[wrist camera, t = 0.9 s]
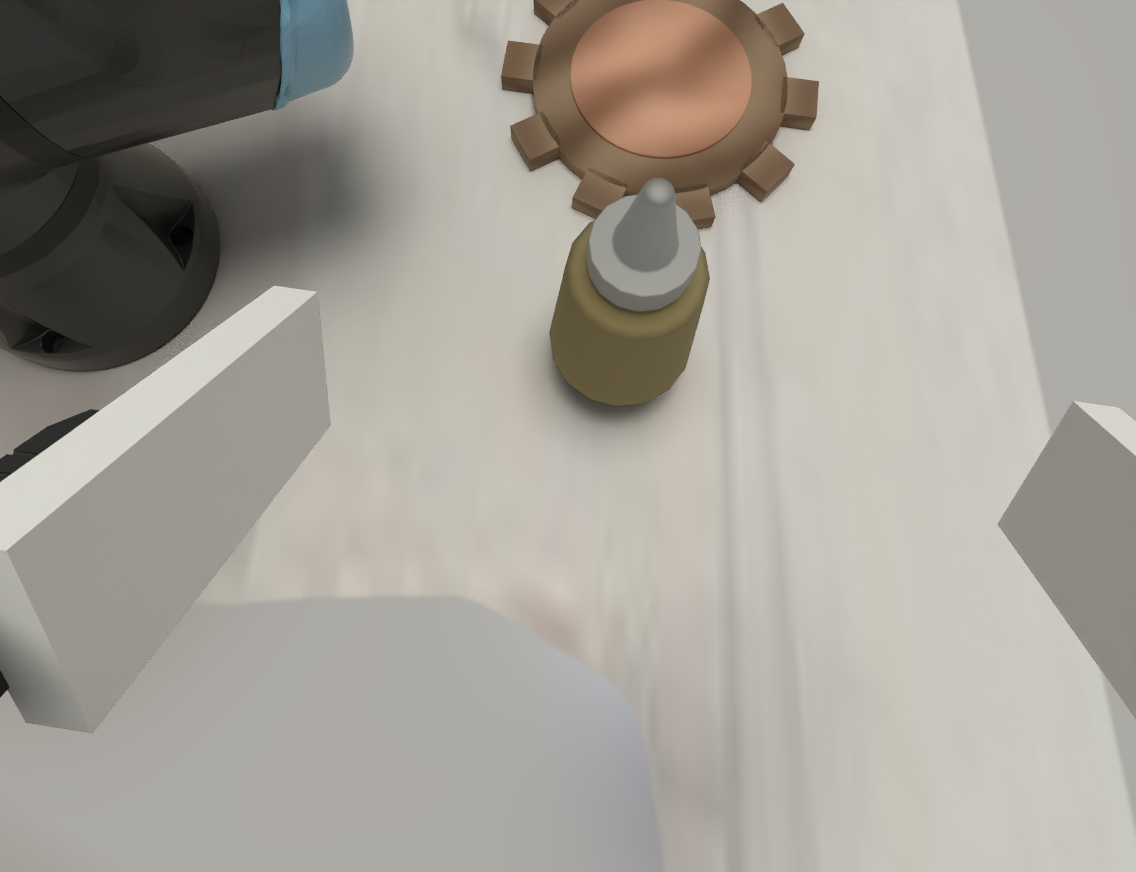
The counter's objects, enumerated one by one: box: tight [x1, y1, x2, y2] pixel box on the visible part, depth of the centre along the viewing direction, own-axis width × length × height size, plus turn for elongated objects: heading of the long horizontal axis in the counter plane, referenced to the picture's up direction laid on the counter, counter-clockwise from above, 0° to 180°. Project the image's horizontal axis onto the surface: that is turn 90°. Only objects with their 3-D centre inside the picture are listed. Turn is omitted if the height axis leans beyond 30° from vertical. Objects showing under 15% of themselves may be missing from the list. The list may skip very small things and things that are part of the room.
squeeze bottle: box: [550, 178, 710, 406], centre depth 32 cm, size 8×8×18 cm
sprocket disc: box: [501, 0, 819, 229], centre depth 44 cm, size 21×21×2 cm
